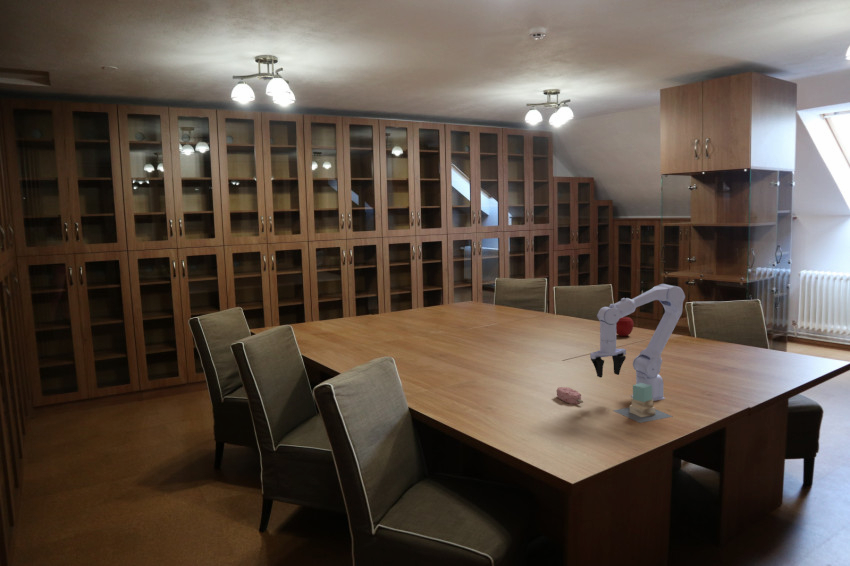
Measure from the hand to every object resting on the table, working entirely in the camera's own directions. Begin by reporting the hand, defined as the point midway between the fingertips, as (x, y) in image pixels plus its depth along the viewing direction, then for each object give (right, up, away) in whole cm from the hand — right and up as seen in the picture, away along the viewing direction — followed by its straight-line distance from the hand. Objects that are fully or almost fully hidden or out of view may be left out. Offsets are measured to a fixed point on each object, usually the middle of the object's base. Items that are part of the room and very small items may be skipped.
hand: (608, 375), depth 219 cm
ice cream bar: (-13, -11, +4) cm, 17 cm away
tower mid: (+8, -9, -13) cm, 18 cm away
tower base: (+8, -11, -13) cm, 19 cm away
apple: (+44, +4, +114) cm, 122 cm away
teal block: (+8, -6, -14) cm, 17 cm away
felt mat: (+8, -12, -13) cm, 19 cm away
